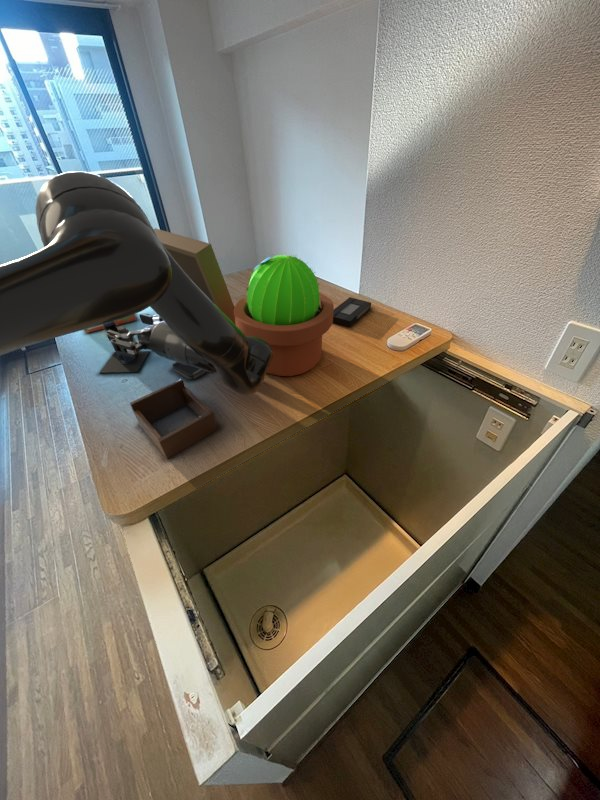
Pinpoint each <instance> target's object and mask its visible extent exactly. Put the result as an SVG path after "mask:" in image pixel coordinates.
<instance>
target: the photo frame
mask: <svg viewBox="0 0 600 800" xmlns="http://www.w3.org/2000/svg"><path fill="white" fill-rule="evenodd" d="M153 229H154V231H155V233H156V235H157V237H158V238H159V240H160V241H161V243H162V244H163V246H164V247H165V248H166V250H167V251H168V252H169V253H170V255H171V256H172V257H173V259H174V260H175V261H176V262H177V264H178V265H179V266H180V267H181V268H182V270H183V271H184V272H185V273H186V274H187V275H188V277H189V278H190V279H191V280H192V281H193V282H194V283H195V284H196V285H197V286H198V287H199V289H200V290H201V291H202V292H203V293H204V294H205V295H206V296H207V297H208V298H209V299H210V300H211V301H212V302H213V303H214V304H215V305H216V306H217V307H218V308H219V309H220V310H221V311H222V312H223V313H224V314H225V315H226V316H227V317H228V318H229V319H230V320H231V321H232V322H233V323H234V324H235V318H234V307H235V305H234V302H233V299H232V296H231V294H230V291H229V289H228V286H227V283H226V280H225V277H224V276H223V273H222V270H221V267H220V265H219V261H218V259H217V256H216V254H215V252H214V249H213V246H212V243H210V242H206V241H203V240H200V239H199V240H198V239H195V238H191V237H188V236H185V235H181V234H177V233H174V232H171V231H167V230H162V229H159V228H156V227H155V228H153ZM235 325H236V324H235Z"/></svg>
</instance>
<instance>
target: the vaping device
mask: <svg viewBox="0 0 600 800" xmlns="http://www.w3.org/2000/svg"><path fill="white" fill-rule="evenodd" d="M103 325H104V330H105V332H106V331H108V330H112V331H115V332H118V333H121V334H126V333H129V331H130V330H129V329H127V326H126V325H120V326H117V325H115V322H114V321H113V322H109V323H106V324H103ZM125 342H130V340H129V339H128V338H125ZM110 344H111V346H112V347H113V345H112V343H111V342H110ZM113 349H114V347H113ZM116 354H117V356H118V359H119V361H120V363H122V364H129V363H130V362H132V361H133V360H134V359H135V358H133V357H130V356H127V355H123V354H120V353H117V352H116ZM136 358H137V357H136Z"/></svg>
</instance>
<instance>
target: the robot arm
mask: <svg viewBox="0 0 600 800" xmlns="http://www.w3.org/2000/svg"><path fill="white" fill-rule="evenodd" d="M35 204H36V205H35V216H36V217H35V218H36V226H37V230H38V232H39V233H38V234H39V236H40V239H41V243H42V244H43V245H42V246H43V248H41V249H38V250H37V251H35V252H32V253H30V254H28V255H26V256H22V257H20V258H18V259H15V260H12V261H8V262H5V263H3V264H0V357H1V356H3V355H6V354H9V353H11V352H14V351H18V350H20V349H23V348H26V347H28V346H32V345H36V344H39V343H42V342H45V341H48V340H52V339H55V338H60V337H62V336H66V335H70V334H73V333H77V332H80V331H85V329H88V328H92V327H95V326H99V325H102V324H106V323H109V322H113V321H116V320H119V319H122V318H125V317H128V316H131V315H133V314H134V315H135V314H138V313H139V318H140V321H141V323H142V324H145V325H147V326H145V327H144V328H142V329H138V330H137V329H136V330H128V331H129V333H126V334H121V333H118V332H115V331H112V330H108V331H106V330H105V332H106V337H107V339H108V341H109V342H110V344H111V343H112V344H111V346H112V345H113V346H112V347H114V348H113V349H114V352H117V353H120V354H123V355H127V356H130V357H133V358H136V357H138V356H139V354H138V352H139V351H144V350H145V351H151V352H153V353H154V354H156V355H157V356H159V357H161V358H163V359H166V360H169V361H172V362H174V363H175V362H178V363H181V364H184V365H189V366H193V367H196V368H199V369H202V370H204V371H207V372H208V373H211V374H218V376H219V377H220V380H222V382H223V383H224V384H225V386H227V388H229V389H230V390H231V391H233V392H235V394H239V395H241V396H250V395H251V396H252V395H254V394H255V393H257V392H258V391H259V390H260V388H261V386H262V384H263V382H264V380H265V378H266V375H267V374H268V373H267V371H268V368H269V366H270V364H271V362H272V359H273V350H272V348H271V346H270V345H269V344H268V343H267V342H266V341H264V340H263V339H260V338H258V337H254V336H245V335H244V333H243V332H242V331H241V330H240V329H239V328H238V327H237V326H236V325H235V324H234V323H233V322H232V321H231V320H230V319H229V318H228V317H227V316H226V315H225V314H224V313H223V312H222V311H221V310H220V309H219V308H218V307H217V306H216V305H215V304H214V303H213V302H212V301H211V300H210V299H209V298H208V297H207V296H206V295H205V294H204V293H203V292H202V291H201V290H200V289H199V287H198V286H197V285H196V284H195V283H194V282H193V281H192V280H191V279H190V278H189V277H188V275H187V274H186V273H185V272H184V271H183V270H182V268H181V267H180V266H179V265H178V264H177V262H176V261H175V260H174V259H173V257H172V256H171V255H170V253H169V252H168V251H167V250H166V248H165V247H164V246H163V244H162V243H161V241H160V240H159V238H158V237H157V235H156V233H155V231H154V229H155V228H153V225H152V224H151V222H150V220H149V218H148V216H147V214H146V213H145V212H144V210H143V209H142V208H141V206H140V204H139V203H138V202H137V200H135V198H133V196H132V195H130V193H129V192H127V190H125V189H124V188H123V187H121V186H120V185H118V184H117V183H115V182H114V181H112V180H110V179H108V178H106V177H105V176H102V175H99V174H95V173H93V172H87V171H80V170H79V171H67V172H63V173H60V174H57V175H55V176H53V177H51V178H50V179H49V180H47V181H46V182H45V183H44V184H43V185H42V187H41V188H40V190H39V192H38V194H37V197H36V203H35ZM148 308H151V309H152V310H153V311H154V312H155V313H156V314H149V313H144V312H143V311H145V310H147V309H148ZM140 312H141V313H140ZM136 337H137V338H136ZM125 338H128V339H129V340H130V342H125ZM136 339H137V340H136ZM137 341H138V342H137ZM207 372H206V373H207Z"/></svg>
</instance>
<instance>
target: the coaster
mask: <svg viewBox="0 0 600 800" xmlns="http://www.w3.org/2000/svg"><path fill="white" fill-rule="evenodd" d="M150 352H151V350H145V351H144V350H141V351H139V352H138V354H139V356H138V357H137V358H135V359H134V360H133V361H132V362H130V363H129V364H122V363H120V361H119V359H118V356H117V354H116V352H115V351H114V352H113V354H112V355H111V356H110V358H109V359H108V360H107V362H106V363H105V364H104V366H103V367H102V368H101V370H100V371H99V374H100V375H108V374H109V375H110V374H111V375H112V374H113V375H114V374H139V372H140V370H141V368H142V367H143V365H144V363H145V362H146V360H147V359H148V356H149V355H150Z"/></svg>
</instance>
